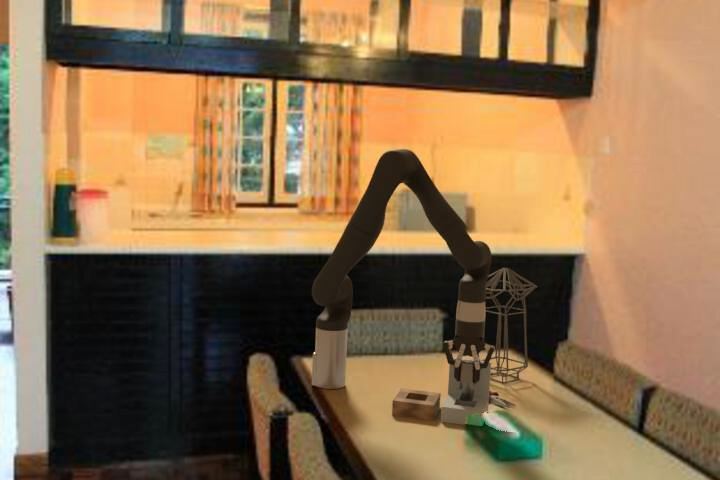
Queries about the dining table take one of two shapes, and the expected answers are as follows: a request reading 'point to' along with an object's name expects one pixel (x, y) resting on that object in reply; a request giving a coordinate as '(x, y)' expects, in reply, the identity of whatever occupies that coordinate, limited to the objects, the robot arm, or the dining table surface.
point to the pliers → (498, 400)
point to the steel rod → (466, 380)
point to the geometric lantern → (493, 285)
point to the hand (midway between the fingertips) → (466, 381)
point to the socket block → (416, 404)
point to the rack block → (459, 409)
